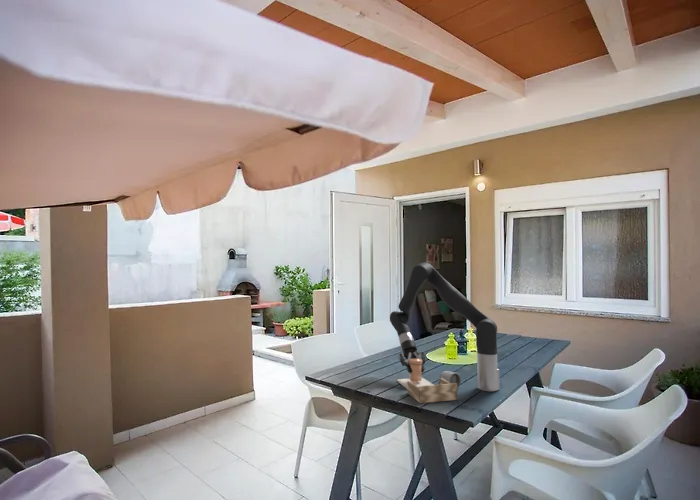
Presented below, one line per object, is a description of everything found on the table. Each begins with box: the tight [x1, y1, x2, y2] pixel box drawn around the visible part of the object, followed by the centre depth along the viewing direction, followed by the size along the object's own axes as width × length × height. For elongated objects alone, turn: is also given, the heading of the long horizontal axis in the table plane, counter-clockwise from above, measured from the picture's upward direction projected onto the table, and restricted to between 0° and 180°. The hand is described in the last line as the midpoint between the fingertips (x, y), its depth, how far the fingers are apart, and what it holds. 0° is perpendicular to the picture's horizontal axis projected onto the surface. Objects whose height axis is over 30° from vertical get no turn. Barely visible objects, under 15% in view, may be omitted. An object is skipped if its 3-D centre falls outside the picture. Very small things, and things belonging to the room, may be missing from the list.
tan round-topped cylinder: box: [408, 358, 423, 382], centre depth 197 cm, size 7×7×10 cm
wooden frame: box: [406, 377, 458, 404], centre depth 180 cm, size 18×14×7 cm
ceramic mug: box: [436, 370, 462, 389], centre depth 192 cm, size 11×8×8 cm
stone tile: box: [397, 376, 434, 390], centre depth 197 cm, size 14×14×1 cm
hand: (416, 371), depth 196 cm, fingers closed on tan round-topped cylinder, 6 cm apart
